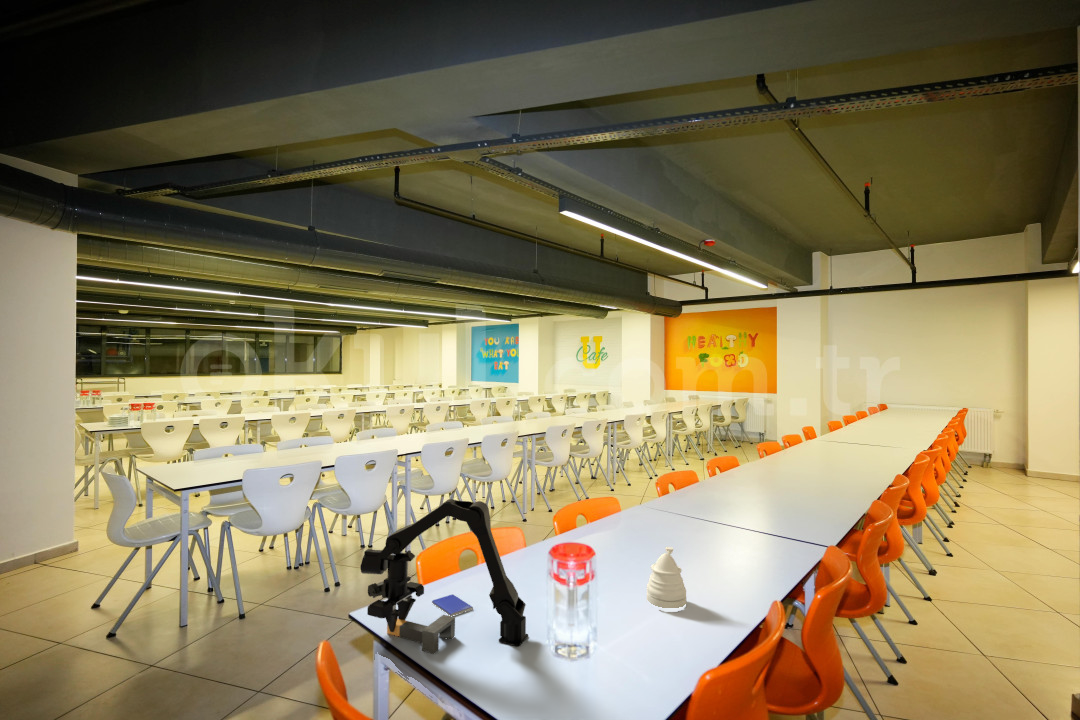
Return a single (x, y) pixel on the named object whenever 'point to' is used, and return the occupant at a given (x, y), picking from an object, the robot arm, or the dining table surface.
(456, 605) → the hard drive
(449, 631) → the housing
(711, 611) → the dining table surface
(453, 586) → the dining table surface
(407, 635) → the plug
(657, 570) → the honey pot
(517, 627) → the robot arm
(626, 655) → the dining table surface
